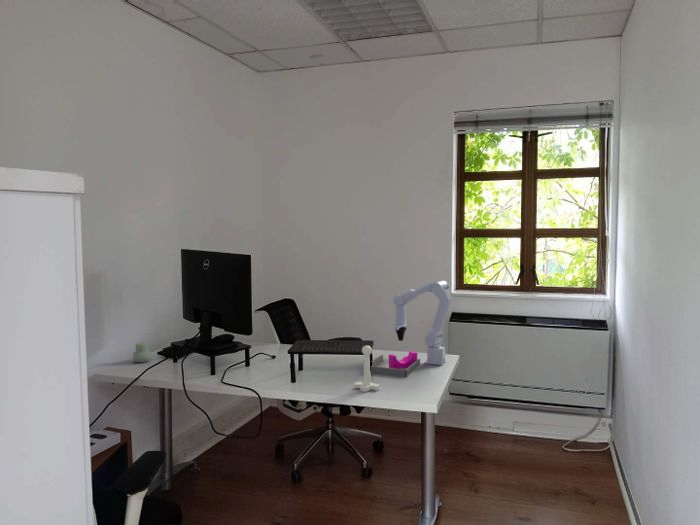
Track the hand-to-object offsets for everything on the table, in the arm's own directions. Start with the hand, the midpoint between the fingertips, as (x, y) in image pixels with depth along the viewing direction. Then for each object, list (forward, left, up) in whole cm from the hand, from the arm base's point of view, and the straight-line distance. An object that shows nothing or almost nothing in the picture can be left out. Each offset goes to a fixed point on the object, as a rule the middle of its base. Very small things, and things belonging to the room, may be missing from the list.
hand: (400, 340), depth 297 cm
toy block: (-7, +18, -10) cm, 22 cm away
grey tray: (-4, +23, -9) cm, 25 cm away
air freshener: (+129, +62, -10) cm, 143 cm away
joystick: (-4, +59, -10) cm, 60 cm away
